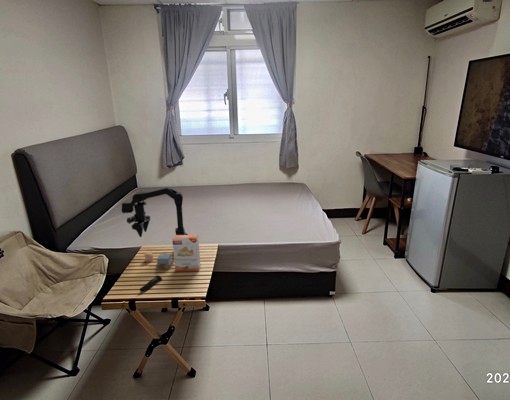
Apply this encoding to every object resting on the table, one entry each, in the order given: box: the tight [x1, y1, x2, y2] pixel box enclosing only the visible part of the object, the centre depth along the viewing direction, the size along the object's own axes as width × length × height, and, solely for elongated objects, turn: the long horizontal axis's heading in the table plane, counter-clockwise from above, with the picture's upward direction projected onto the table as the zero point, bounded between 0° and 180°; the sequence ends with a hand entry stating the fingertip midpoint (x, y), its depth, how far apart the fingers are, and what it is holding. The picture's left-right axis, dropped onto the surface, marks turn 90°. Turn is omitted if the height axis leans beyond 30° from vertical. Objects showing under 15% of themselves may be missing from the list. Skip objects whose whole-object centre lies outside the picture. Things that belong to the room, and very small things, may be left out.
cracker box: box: [171, 234, 201, 272], centre depth 183 cm, size 14×6×21 cm, turn 89°
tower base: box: [155, 258, 174, 271], centre depth 189 cm, size 8×8×4 cm
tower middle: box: [156, 253, 172, 264], centre depth 189 cm, size 6×6×4 cm
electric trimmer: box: [139, 275, 163, 292], centre depth 168 cm, size 4×16×3 cm, turn 158°
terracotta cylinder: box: [143, 251, 154, 263], centre depth 198 cm, size 5×5×5 cm
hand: (143, 234), depth 206 cm, fingers open, 9 cm apart
